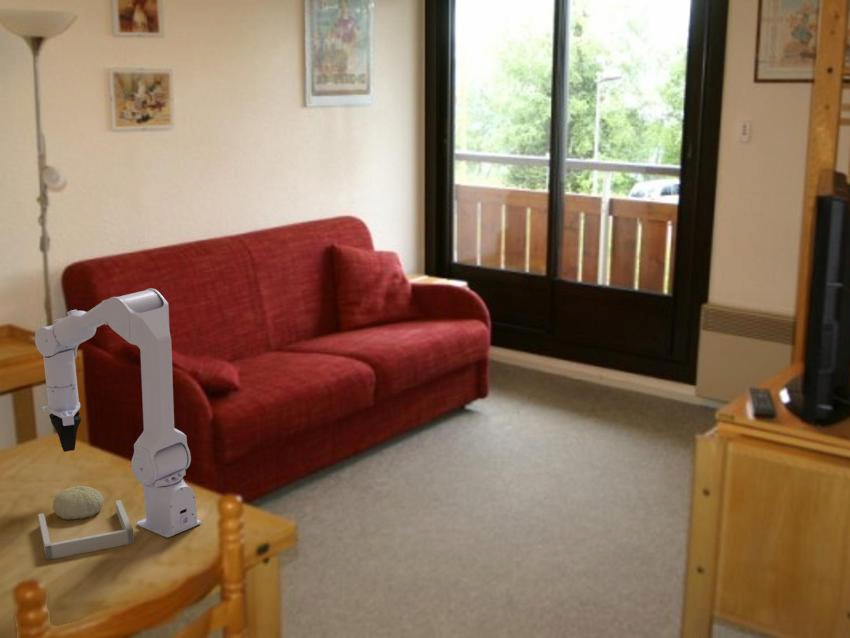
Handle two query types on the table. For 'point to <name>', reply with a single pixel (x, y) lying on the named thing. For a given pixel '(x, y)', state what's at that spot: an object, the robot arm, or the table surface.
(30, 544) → the table surface
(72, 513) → the sea urchin shell
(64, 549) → the grey u-shaped bracket
